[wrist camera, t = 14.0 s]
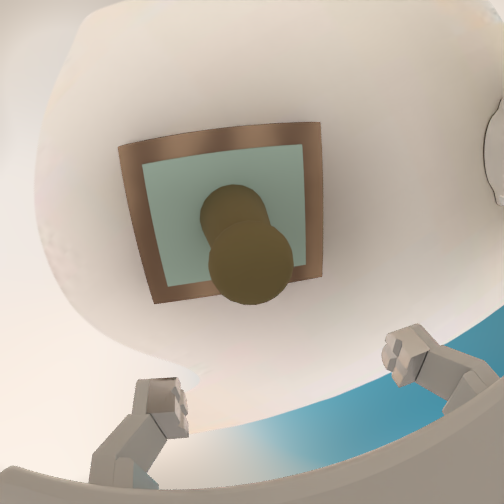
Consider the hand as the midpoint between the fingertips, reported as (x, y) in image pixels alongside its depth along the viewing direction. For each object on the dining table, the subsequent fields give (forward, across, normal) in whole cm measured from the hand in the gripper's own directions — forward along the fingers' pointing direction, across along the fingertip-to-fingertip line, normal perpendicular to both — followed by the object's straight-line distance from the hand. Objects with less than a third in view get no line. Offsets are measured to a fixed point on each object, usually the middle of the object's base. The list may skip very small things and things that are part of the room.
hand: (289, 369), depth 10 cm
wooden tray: (+21, 0, 0) cm, 21 cm away
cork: (+18, 0, 0) cm, 18 cm away
